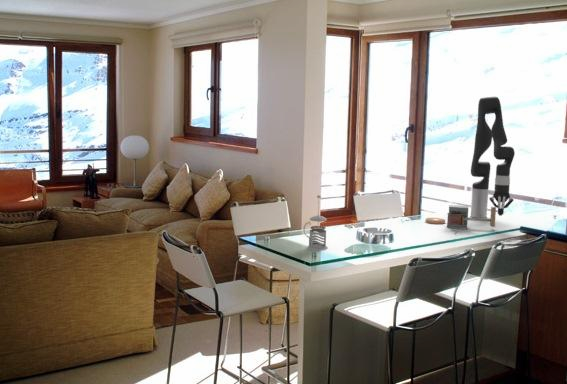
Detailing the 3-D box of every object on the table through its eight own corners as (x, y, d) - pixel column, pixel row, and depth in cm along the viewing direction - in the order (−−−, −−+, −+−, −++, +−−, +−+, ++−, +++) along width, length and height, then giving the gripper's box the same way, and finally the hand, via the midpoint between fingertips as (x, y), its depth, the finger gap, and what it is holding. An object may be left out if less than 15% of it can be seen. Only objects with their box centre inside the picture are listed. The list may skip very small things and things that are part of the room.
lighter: (461, 226, 368) (462, 208, 367) (462, 227, 365) (463, 209, 363) (446, 226, 369) (447, 208, 367) (447, 227, 366) (448, 209, 364)
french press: (329, 250, 308) (331, 196, 304) (304, 250, 307) (305, 196, 303) (326, 245, 317) (327, 193, 314) (302, 245, 316) (303, 193, 313)
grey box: (448, 225, 371) (449, 204, 369) (466, 226, 369) (467, 205, 367) (448, 227, 365) (449, 206, 363) (467, 228, 362) (468, 207, 361)
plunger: (461, 225, 369) (462, 205, 367) (493, 227, 365) (495, 206, 363) (461, 227, 363) (463, 206, 361) (494, 229, 359) (495, 208, 358)
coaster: (425, 219, 386) (425, 217, 386) (445, 220, 384) (445, 218, 384) (425, 223, 376) (425, 220, 376) (445, 224, 373) (445, 221, 373)
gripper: (514, 183, 360) (512, 214, 363) (488, 182, 363) (487, 213, 366) (516, 185, 353) (514, 217, 356) (490, 184, 356) (488, 215, 358)
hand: (500, 215), depth 361 cm, fingers closed
